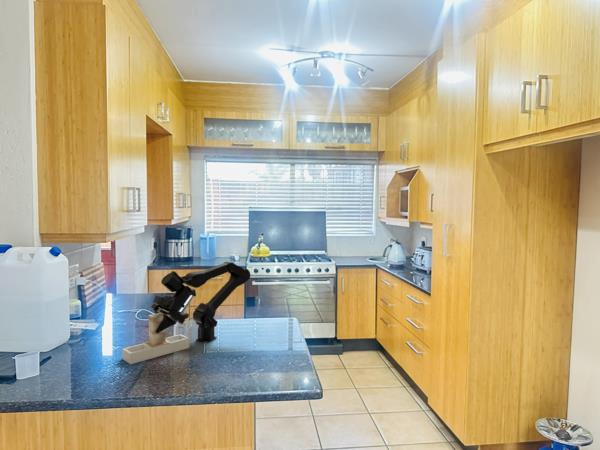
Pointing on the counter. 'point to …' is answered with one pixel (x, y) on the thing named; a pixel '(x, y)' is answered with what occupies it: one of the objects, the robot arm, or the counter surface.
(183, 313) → the door handle
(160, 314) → the tan carved block
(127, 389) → the counter surface
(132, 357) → the rack
